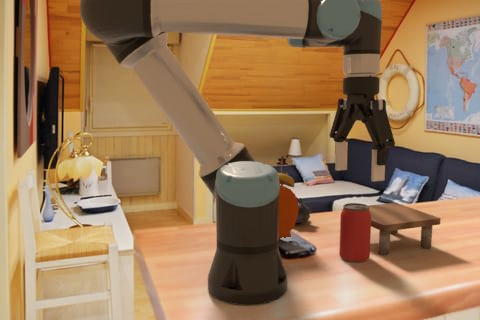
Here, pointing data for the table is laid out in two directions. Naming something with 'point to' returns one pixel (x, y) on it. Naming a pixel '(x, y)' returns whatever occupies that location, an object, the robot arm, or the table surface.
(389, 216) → the peg shelf
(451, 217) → the table surface
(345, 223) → the beer can
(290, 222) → the alarm clock
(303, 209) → the frog
